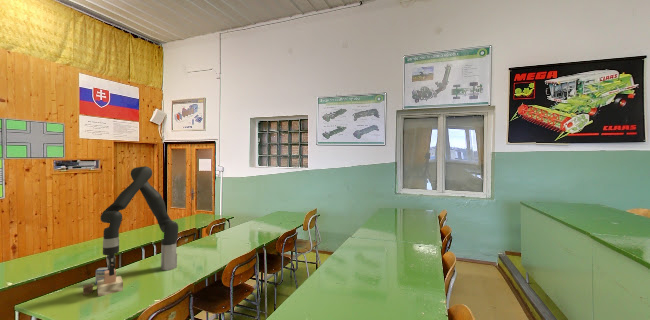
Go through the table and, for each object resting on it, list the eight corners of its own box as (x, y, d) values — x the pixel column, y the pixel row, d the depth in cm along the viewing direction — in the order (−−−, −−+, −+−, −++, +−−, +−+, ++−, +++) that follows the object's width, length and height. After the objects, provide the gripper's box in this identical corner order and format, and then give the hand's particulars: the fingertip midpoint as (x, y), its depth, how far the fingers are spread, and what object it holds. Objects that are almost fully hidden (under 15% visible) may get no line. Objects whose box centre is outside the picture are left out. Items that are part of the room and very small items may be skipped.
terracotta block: (114, 278, 161) (115, 268, 161) (115, 281, 157) (116, 271, 157) (104, 281, 157) (104, 270, 157) (104, 284, 153) (105, 273, 153)
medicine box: (94, 284, 163) (95, 270, 163) (98, 281, 167) (99, 267, 167) (110, 283, 165) (110, 269, 165) (113, 280, 169) (114, 266, 169)
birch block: (120, 283, 165) (120, 275, 165) (122, 290, 157) (123, 281, 157) (96, 289, 157) (97, 280, 157) (98, 296, 149) (98, 287, 149)
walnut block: (92, 290, 156) (92, 283, 156) (92, 292, 153) (92, 285, 153) (83, 292, 154) (83, 285, 154) (83, 295, 151) (83, 288, 151)
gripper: (120, 246, 154) (120, 275, 154) (117, 241, 165) (117, 267, 165) (103, 249, 149) (103, 278, 149) (101, 243, 160) (101, 270, 160)
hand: (110, 272), depth 157 cm, fingers open, 8 cm apart
